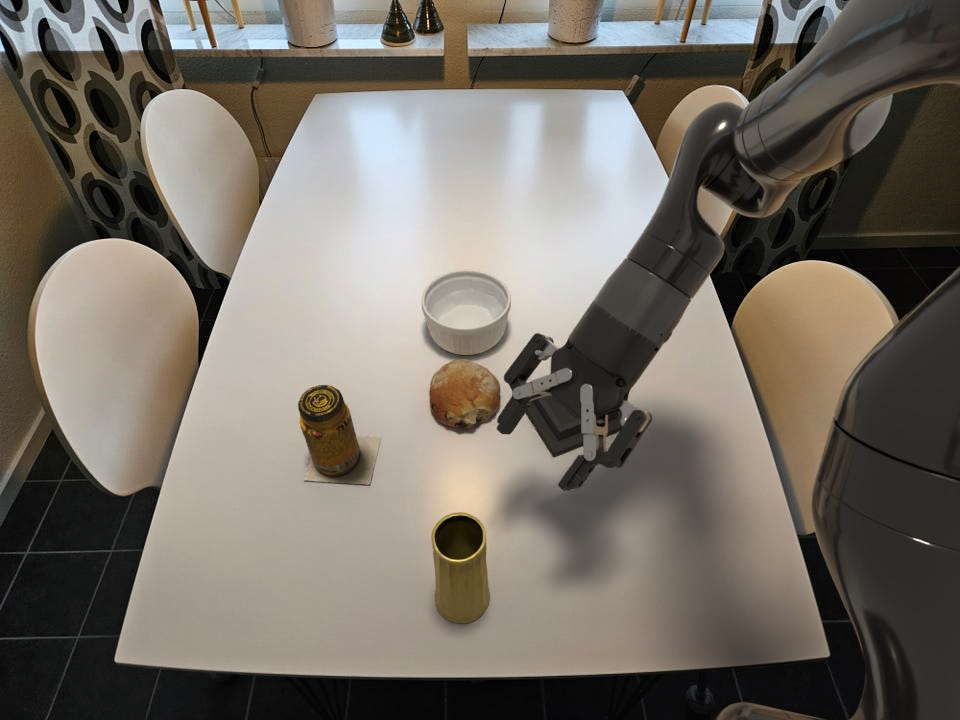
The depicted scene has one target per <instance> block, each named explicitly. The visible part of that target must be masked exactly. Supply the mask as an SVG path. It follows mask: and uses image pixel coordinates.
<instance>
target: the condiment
mask: <svg viewBox="0 0 960 720" xmlns="http://www.w3.org/2000/svg"><path fill="white" fill-rule="evenodd" d="M297 409H298V412H299V425H300V428H301V432H302V435H303V437H304V439H305V443H306V446H307V450H308V452H309V455H310V460H309V464H308V467H307V469H306V473H305V476H304V481H308V482H309V481H310V482H317V483H318V482H322V483H333V484H334V483H337V484H340V483H342V484H344V483H345V484H353V485H371V481H372V478H373V474H374V469H375V466H376V462H377V457H378V452H379V449H380V444H381V438H382V437H377V436H361V435H357V434H356V431H355V427H354V422H353V418H352V414H351V411H350V408H349V406H348V404H347V403H346V402H345V399H344V396H343V394H342V392H341V391H340V390H339V389H338V388H337V387H335V386H332V385H329V384H318V385H315V386H312V387H310V388H308V389H307V390H305V391H304V392H303V393H302V394H301V396H300V398H299V400H298V404H297Z"/></svg>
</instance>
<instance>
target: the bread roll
mask: <svg viewBox="0 0 960 720" xmlns="http://www.w3.org/2000/svg"><path fill="white" fill-rule="evenodd" d="M428 392H429V393H428V396H429V404H430V410H431V413H432V414H433V415H434V417H435V418H436V419H437V420H438V422H440V423H441V424H444V425H445V426H447V427H452V428H457V429H458V430H460V431H461V430H462V431H464V430H465V429H467V430H468V429H472V428H474V427H477V426H479V425H480V424H482V423H484V422H486V421H488V420H489V419H490V418H491V417H492V416H493V415H494V414H495V413H496V412H497V411H498V409H499V407H500V404H501V398H502V397H501V385H500V381H499V380H498V378H497V377H496V375H494V374H493V373H492V372H491V370H490V369H489V368H487V367H485V366H484V365H481V364H480V363H477V362H474V361H472V360H468V359H454V360H452V361H449V362H447V363H446V364H444V365H442V366H441V367H440V368H439V369H438V370H437V371H436V372H434V373H433V376H432V377H431V380H430V386H429V391H428Z"/></svg>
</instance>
